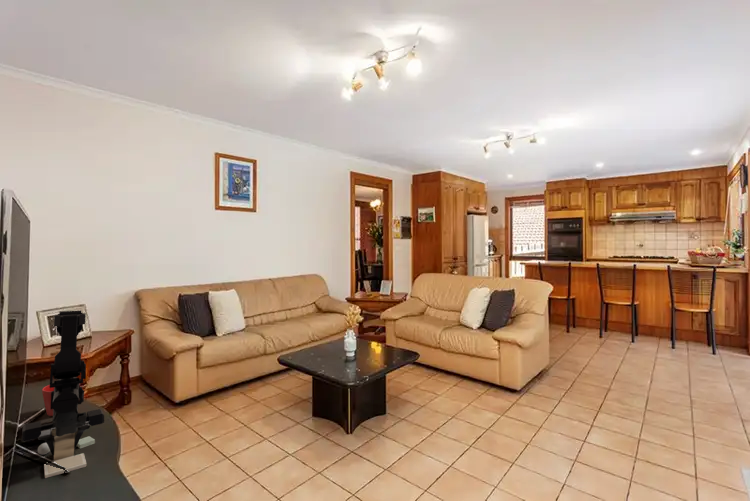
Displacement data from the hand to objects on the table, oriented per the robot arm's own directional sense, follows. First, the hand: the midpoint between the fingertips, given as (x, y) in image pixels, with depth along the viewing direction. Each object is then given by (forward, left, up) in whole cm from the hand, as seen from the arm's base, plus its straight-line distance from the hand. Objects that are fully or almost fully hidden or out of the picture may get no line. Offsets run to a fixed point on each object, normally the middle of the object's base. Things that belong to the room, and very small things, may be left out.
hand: (63, 452), depth 114 cm
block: (0, 0, -1) cm, 1 cm away
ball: (-5, -4, +1) cm, 6 cm away
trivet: (+7, 0, -1) cm, 7 cm away
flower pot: (-37, +1, -1) cm, 37 cm away
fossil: (-12, +2, -1) cm, 12 cm away
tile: (-5, +6, -2) cm, 7 cm away
